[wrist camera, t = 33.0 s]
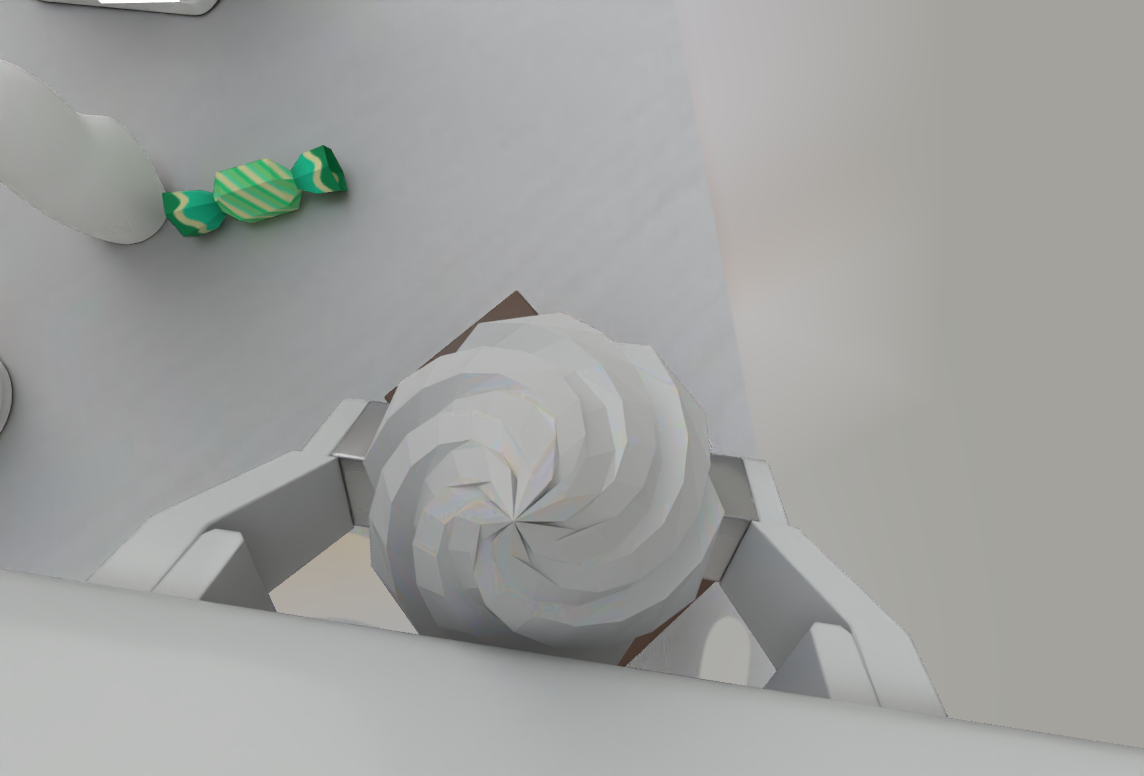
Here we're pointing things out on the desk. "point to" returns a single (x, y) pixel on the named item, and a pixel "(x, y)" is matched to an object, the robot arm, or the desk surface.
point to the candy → (254, 192)
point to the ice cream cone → (542, 491)
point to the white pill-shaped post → (75, 163)
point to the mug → (4, 395)
